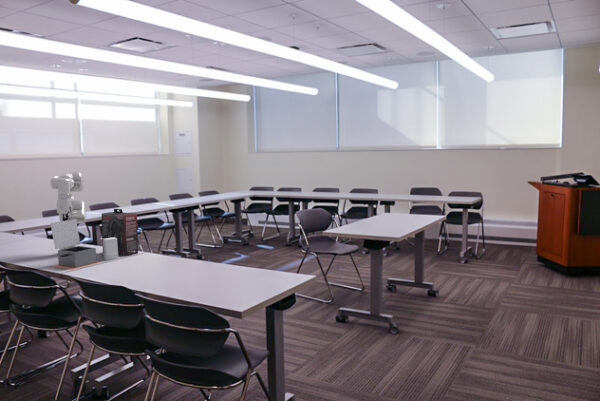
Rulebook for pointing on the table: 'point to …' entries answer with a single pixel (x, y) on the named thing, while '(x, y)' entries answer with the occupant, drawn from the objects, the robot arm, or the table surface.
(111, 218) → the headset box
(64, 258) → the gray storage bin
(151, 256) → the table surface
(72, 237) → the lid
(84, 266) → the trivet mat
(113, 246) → the skincare box
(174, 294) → the table surface
